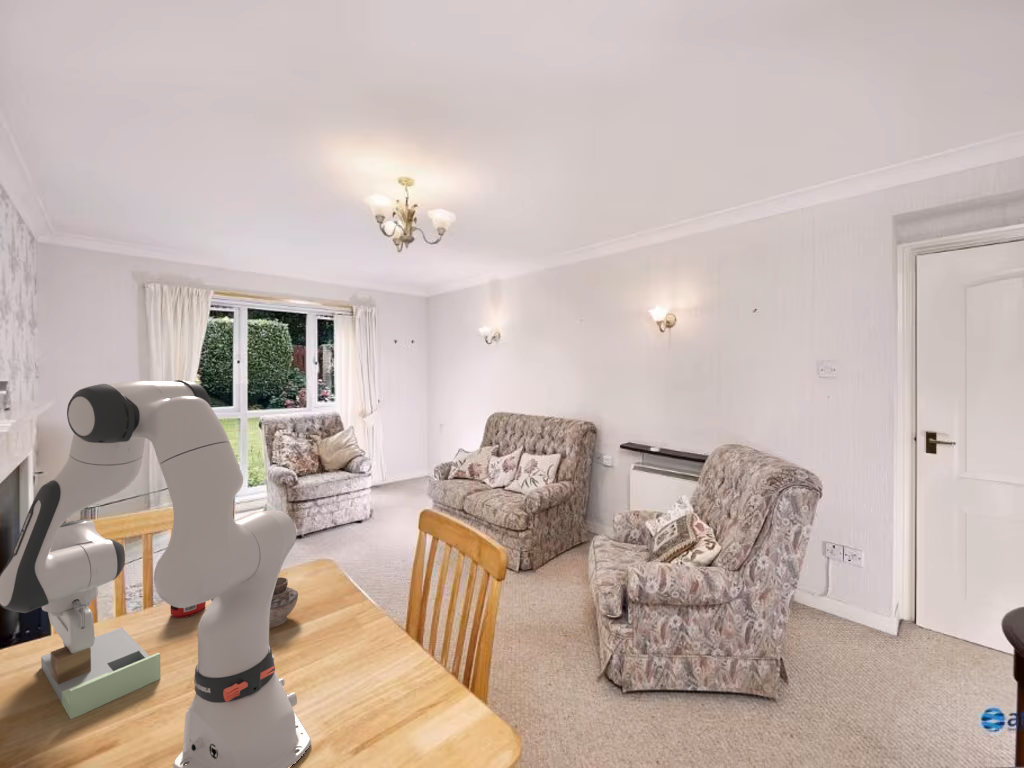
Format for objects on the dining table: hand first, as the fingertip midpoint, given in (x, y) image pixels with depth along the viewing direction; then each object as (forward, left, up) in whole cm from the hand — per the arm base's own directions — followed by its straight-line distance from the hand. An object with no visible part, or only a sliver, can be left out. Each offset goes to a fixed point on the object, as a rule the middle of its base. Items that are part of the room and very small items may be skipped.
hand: (71, 656), depth 98 cm
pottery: (-10, -34, -4) cm, 35 cm away
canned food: (+8, -25, -4) cm, 27 cm away
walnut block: (-6, +1, -1) cm, 6 cm away
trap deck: (-6, -3, -3) cm, 7 cm away
